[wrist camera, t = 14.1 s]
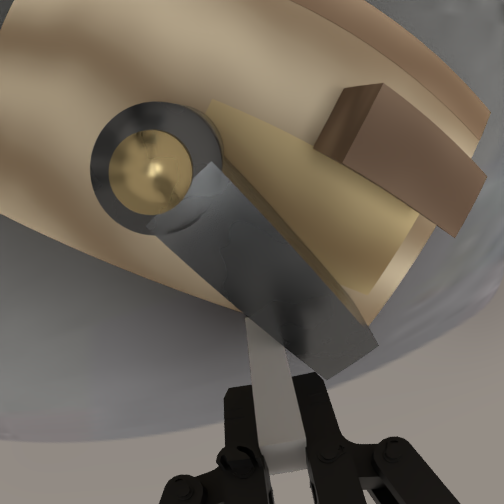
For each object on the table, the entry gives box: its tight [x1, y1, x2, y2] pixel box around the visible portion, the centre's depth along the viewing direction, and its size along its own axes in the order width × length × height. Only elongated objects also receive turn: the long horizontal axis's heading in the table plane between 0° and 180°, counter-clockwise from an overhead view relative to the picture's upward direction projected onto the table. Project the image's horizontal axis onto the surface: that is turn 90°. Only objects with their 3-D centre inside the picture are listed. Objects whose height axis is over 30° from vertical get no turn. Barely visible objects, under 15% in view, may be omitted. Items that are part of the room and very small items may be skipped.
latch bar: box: [90, 101, 379, 380], centre depth 11 cm, size 13×4×4 cm, turn 41°
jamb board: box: [0, 0, 491, 326], centre depth 10 cm, size 16×25×5 cm, turn 64°
